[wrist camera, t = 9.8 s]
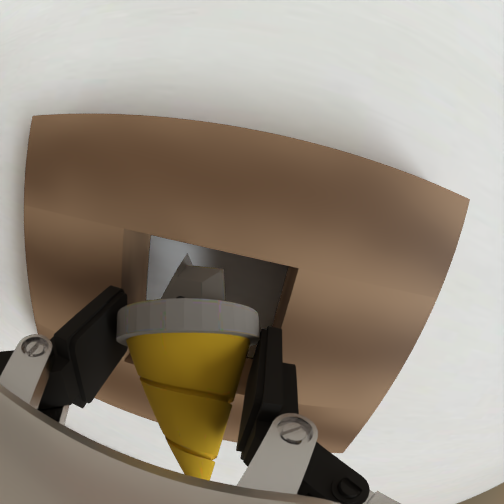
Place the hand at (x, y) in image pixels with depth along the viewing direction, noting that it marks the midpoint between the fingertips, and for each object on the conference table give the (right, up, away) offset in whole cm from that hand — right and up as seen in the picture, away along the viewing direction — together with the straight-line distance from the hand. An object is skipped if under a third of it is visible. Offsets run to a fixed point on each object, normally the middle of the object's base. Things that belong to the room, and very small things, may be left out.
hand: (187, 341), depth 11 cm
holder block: (0, +1, +4) cm, 4 cm away
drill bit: (+1, 0, +2) cm, 2 cm away
